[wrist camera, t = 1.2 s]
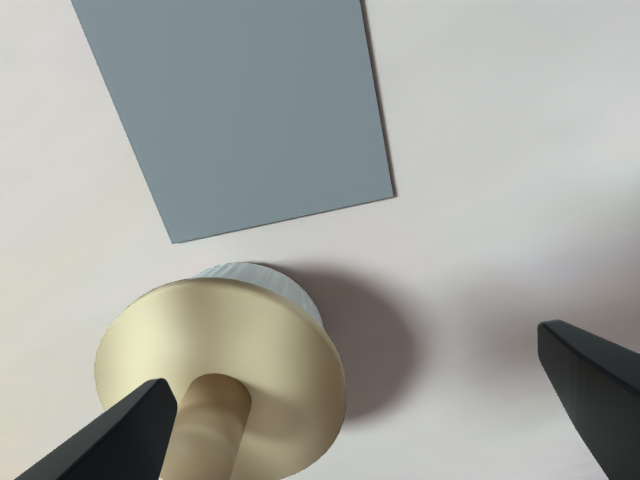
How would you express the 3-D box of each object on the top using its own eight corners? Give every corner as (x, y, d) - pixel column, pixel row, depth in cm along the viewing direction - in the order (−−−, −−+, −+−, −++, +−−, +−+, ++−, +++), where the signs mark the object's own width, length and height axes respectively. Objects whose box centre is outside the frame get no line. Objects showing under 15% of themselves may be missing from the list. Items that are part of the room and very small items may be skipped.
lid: (314, 254, 16) (304, 312, 12) (365, 455, 20) (371, 549, 16) (63, 301, 17) (-24, 366, 13) (160, 477, 22) (117, 568, 18)
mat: (341, -99, 15) (341, -103, 15) (392, 195, 20) (393, 196, 20) (70, -9, 17) (66, -11, 17) (174, 242, 22) (172, 244, 21)
